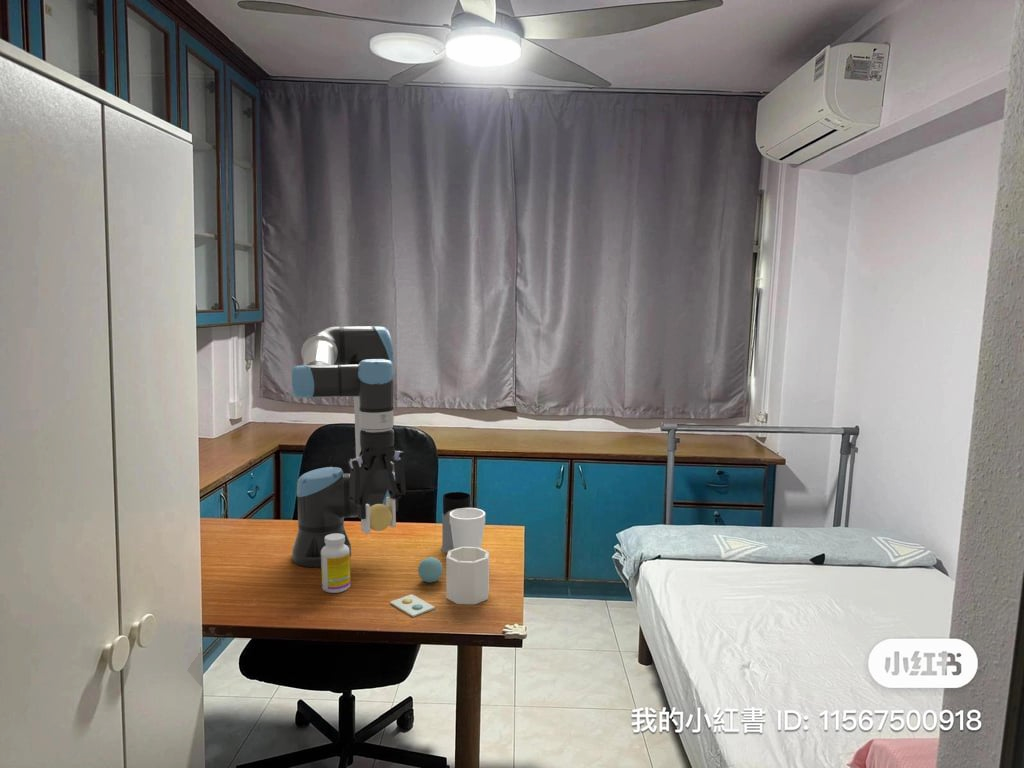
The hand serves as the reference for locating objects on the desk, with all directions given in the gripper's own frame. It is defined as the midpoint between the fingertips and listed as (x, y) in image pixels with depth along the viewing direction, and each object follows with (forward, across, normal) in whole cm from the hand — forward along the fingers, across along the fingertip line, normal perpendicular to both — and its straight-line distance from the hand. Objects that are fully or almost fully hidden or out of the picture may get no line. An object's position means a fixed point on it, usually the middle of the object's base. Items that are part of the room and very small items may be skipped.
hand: (378, 528), depth 161 cm
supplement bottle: (+17, -5, +12) cm, 22 cm away
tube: (+17, +17, -11) cm, 27 cm away
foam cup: (+17, +30, +5) cm, 35 cm away
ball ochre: (0, 0, 0) cm, 0 cm away
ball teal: (+17, +15, +1) cm, 23 cm away
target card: (+17, +4, -7) cm, 19 cm away
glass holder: (+17, +34, +17) cm, 42 cm away
